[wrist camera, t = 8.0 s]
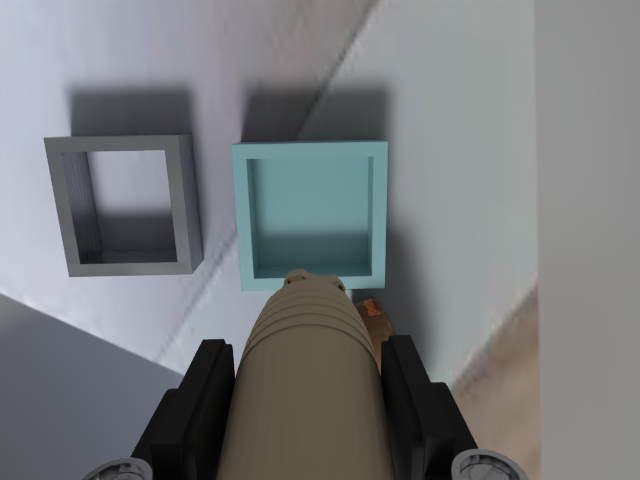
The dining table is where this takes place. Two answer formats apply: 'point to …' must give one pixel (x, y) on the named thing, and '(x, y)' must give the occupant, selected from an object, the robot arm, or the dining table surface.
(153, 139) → the collar
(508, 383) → the dining table surface
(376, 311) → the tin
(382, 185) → the tray
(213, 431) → the robot arm
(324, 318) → the handle
